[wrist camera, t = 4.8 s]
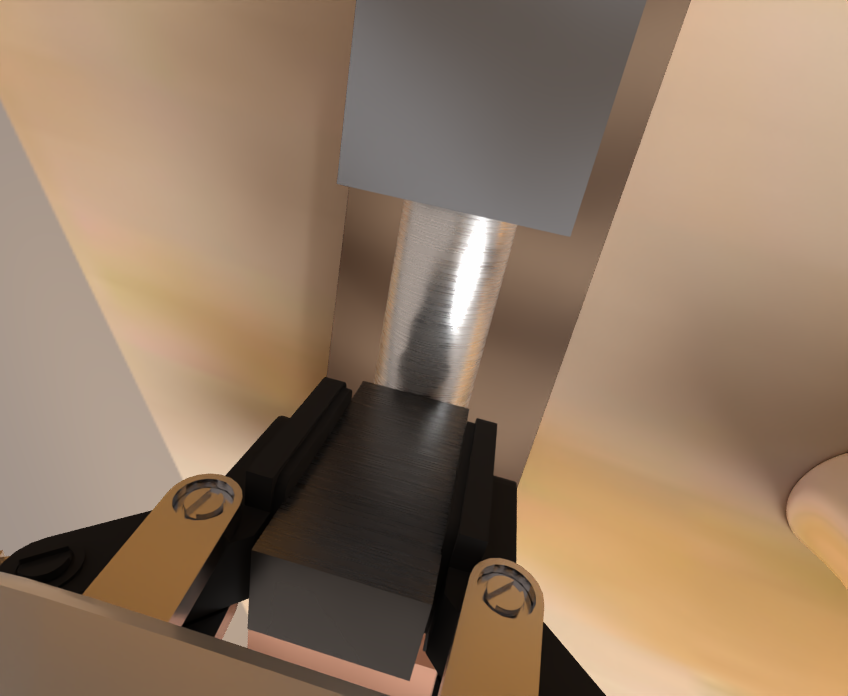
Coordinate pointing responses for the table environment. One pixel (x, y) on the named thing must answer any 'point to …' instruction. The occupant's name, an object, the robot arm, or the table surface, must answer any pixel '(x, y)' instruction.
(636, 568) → the table surface
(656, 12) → the tube rig
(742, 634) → the table surface
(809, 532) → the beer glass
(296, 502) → the tube
